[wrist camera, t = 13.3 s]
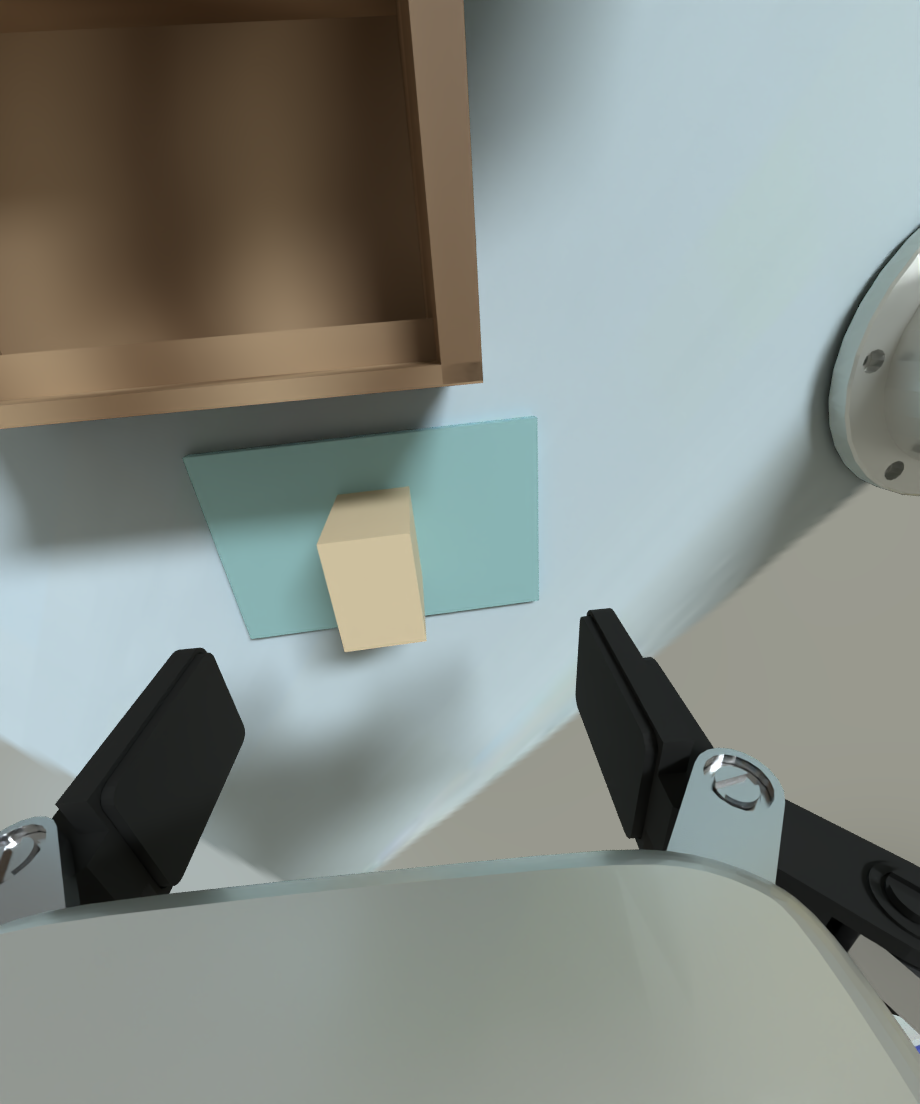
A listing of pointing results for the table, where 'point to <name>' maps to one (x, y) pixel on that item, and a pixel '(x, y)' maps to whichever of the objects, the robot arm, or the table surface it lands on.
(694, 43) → the table surface
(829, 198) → the table surface
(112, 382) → the walnut box
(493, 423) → the cover plate
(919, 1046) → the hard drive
